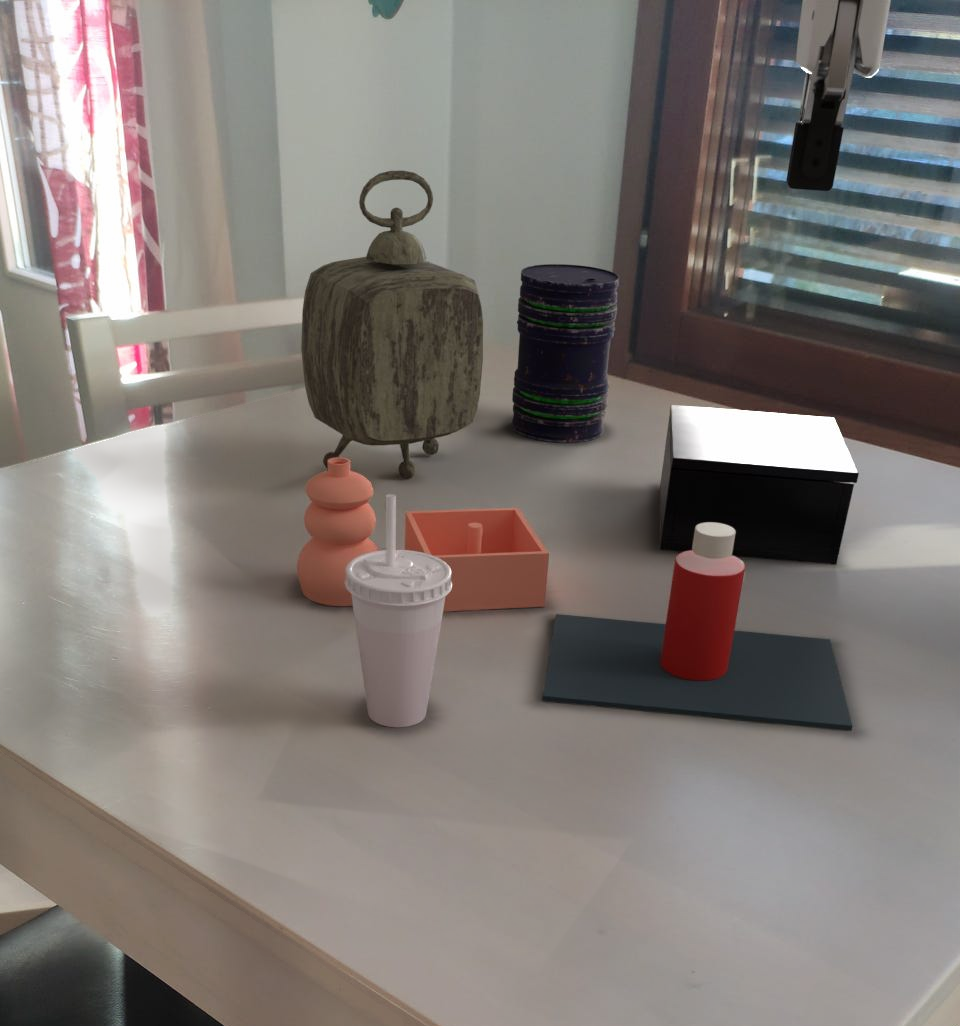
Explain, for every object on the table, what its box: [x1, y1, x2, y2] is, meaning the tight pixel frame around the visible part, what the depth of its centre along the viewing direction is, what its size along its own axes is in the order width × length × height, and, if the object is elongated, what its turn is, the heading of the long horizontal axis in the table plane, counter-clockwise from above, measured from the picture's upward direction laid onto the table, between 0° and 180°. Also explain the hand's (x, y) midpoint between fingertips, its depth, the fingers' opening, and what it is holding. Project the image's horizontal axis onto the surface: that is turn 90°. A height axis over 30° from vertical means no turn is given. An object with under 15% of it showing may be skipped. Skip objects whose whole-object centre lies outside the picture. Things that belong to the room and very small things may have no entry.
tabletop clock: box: [300, 169, 484, 480], centre depth 111 cm, size 14×9×25 cm, turn 122°
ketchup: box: [660, 522, 746, 681], centre depth 84 cm, size 5×5×10 cm
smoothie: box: [345, 493, 452, 728], centre depth 76 cm, size 6×6×14 cm
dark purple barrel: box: [511, 263, 620, 443], centre depth 128 cm, size 10×10×15 cm
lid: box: [669, 404, 860, 484], centre depth 106 cm, size 16×15×1 cm
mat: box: [541, 613, 853, 732], centre depth 87 cm, size 20×13×1 cm, turn 83°
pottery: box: [296, 456, 550, 612], centre depth 94 cm, size 18×10×10 cm, turn 102°
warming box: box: [659, 414, 855, 565], centre depth 109 cm, size 16×15×7 cm
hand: (808, 187), depth 91 cm, fingers closed
